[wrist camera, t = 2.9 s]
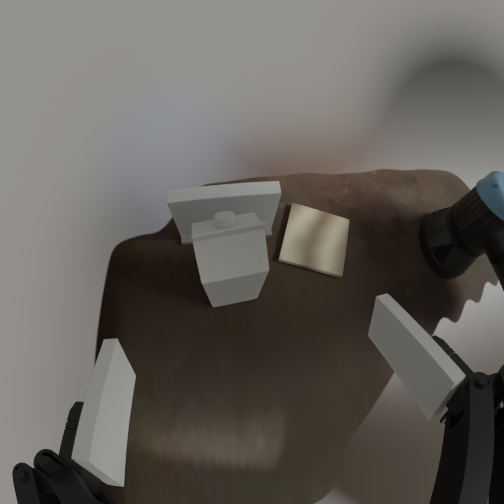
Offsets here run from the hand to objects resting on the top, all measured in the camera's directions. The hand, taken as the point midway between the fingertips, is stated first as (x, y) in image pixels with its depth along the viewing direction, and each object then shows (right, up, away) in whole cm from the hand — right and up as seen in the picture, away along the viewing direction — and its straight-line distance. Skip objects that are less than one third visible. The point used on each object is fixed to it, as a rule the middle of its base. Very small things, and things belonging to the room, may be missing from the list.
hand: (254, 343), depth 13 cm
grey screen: (-5, +8, +34) cm, 35 cm away
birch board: (+11, +6, +34) cm, 36 cm away
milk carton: (-4, 0, +31) cm, 31 cm away
